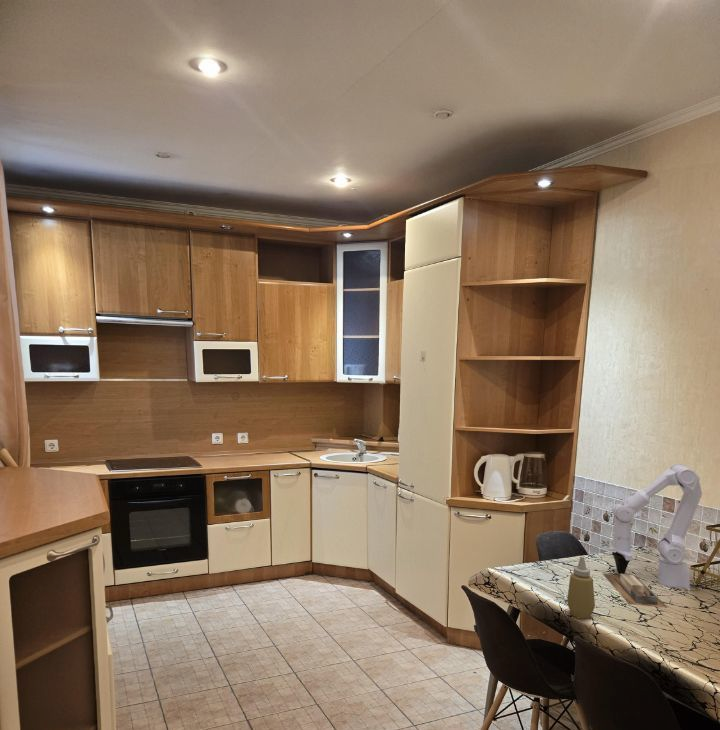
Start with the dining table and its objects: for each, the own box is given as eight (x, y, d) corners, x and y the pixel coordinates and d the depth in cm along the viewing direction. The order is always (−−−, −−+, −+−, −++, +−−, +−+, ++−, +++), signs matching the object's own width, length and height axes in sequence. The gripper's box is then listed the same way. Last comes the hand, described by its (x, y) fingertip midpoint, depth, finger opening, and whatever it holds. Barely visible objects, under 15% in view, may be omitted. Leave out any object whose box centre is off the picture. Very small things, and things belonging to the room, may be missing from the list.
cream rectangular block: (632, 583, 185) (632, 574, 185) (643, 594, 175) (643, 585, 175) (620, 581, 185) (620, 573, 185) (631, 593, 175) (631, 584, 175)
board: (635, 578, 191) (636, 569, 191) (668, 610, 165) (668, 599, 165) (602, 575, 193) (602, 567, 193) (629, 606, 167) (629, 596, 167)
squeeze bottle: (560, 611, 161) (562, 554, 162) (579, 607, 165) (581, 551, 165) (581, 623, 154) (582, 563, 154) (600, 619, 157) (602, 560, 158)
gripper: (604, 530, 198) (603, 565, 198) (618, 542, 183) (616, 579, 183) (623, 531, 197) (622, 566, 197) (638, 543, 182) (637, 581, 182)
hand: (620, 573), depth 190 cm, fingers closed
